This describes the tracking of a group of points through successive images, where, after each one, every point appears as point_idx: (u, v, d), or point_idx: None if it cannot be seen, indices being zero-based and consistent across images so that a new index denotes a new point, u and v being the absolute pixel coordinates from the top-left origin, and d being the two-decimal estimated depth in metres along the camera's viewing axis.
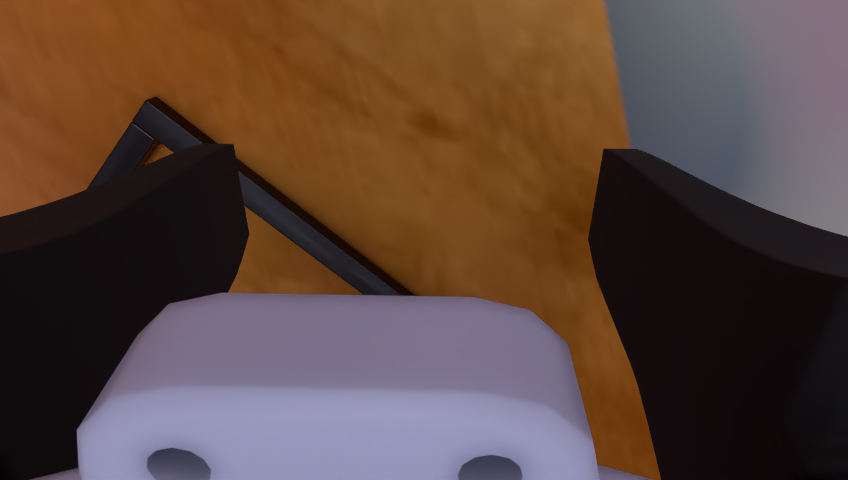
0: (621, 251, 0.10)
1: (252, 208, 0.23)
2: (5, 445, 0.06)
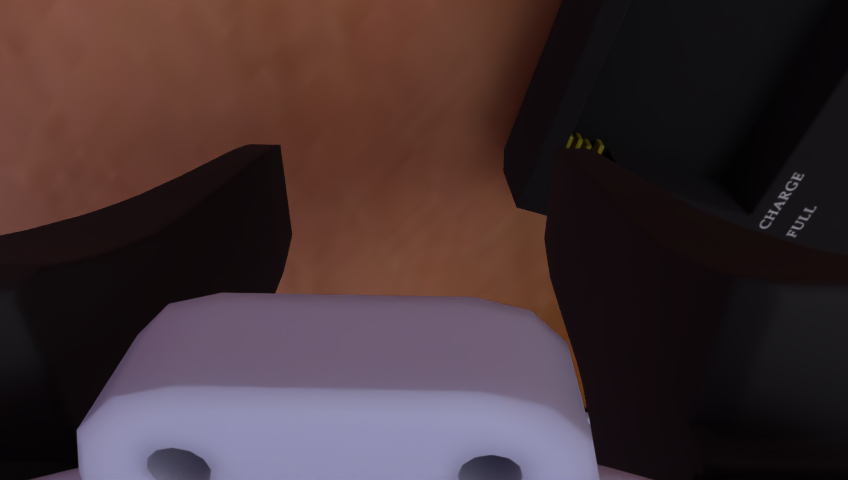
0: (569, 250, 0.10)
1: None
2: None
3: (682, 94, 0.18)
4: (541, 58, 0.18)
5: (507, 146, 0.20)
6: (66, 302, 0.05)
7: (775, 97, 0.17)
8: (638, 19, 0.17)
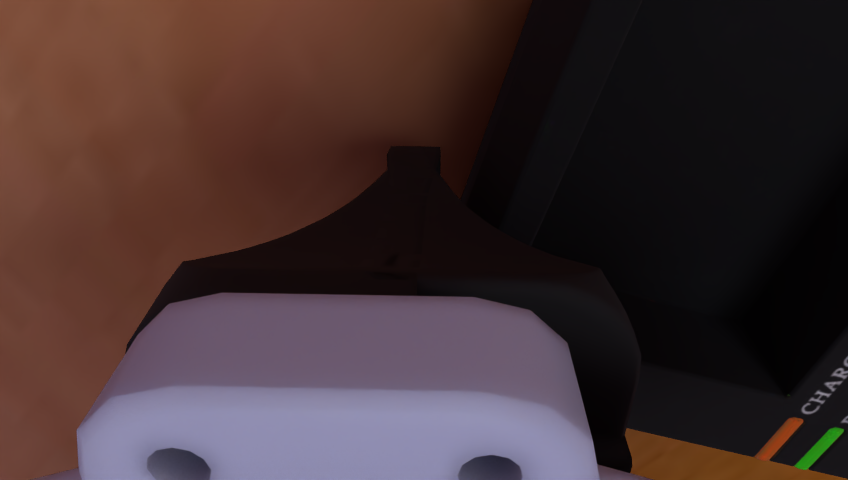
0: None
1: None
2: None
3: (684, 210, 0.12)
4: (479, 150, 0.13)
5: None
6: None
7: (823, 216, 0.12)
8: (617, 107, 0.11)
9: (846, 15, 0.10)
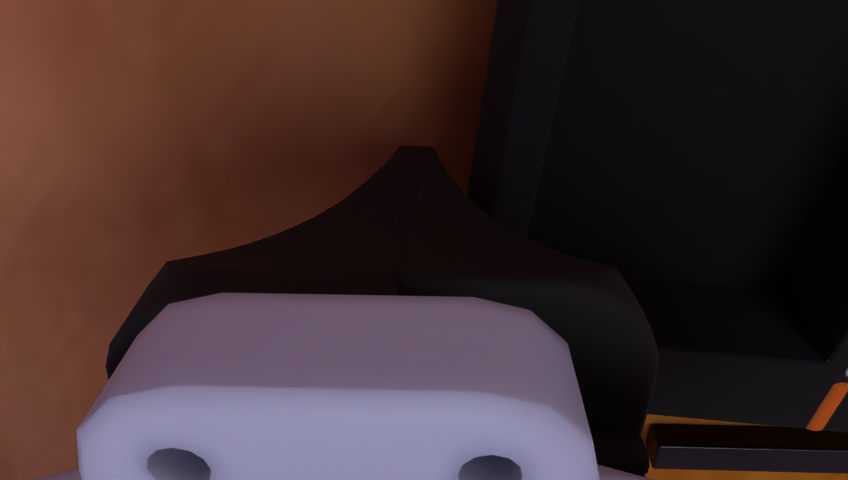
0: None
1: None
2: None
3: (688, 184, 0.11)
4: None
5: None
6: None
7: (838, 168, 0.11)
8: (596, 93, 0.11)
9: None
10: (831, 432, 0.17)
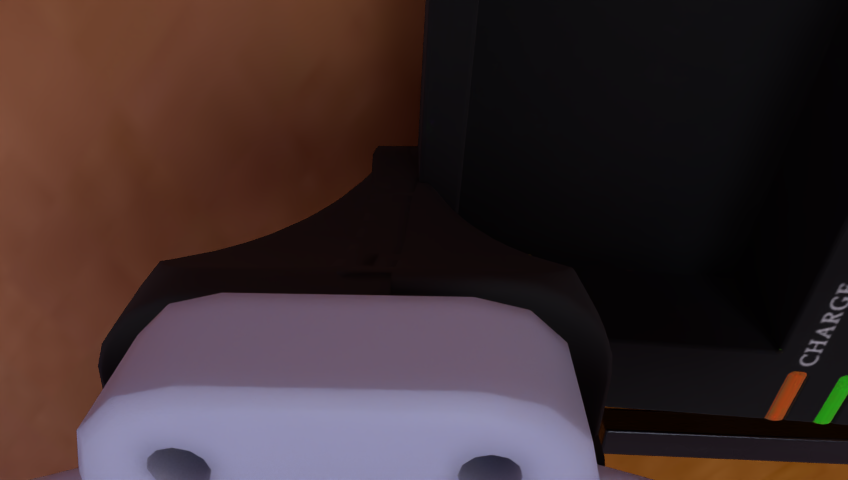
0: None
1: None
2: None
3: (636, 172, 0.11)
4: None
5: None
6: None
7: (789, 151, 0.11)
8: (531, 84, 0.10)
9: None
10: (784, 420, 0.17)
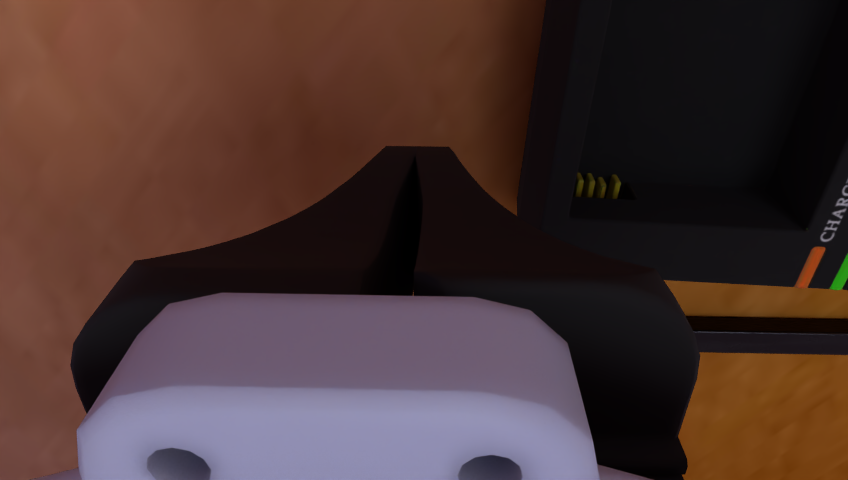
0: (418, 248, 0.11)
1: None
2: None
3: (697, 108, 0.15)
4: (532, 100, 0.17)
5: (518, 196, 0.18)
6: None
7: (808, 88, 0.15)
8: (626, 42, 0.15)
9: None
10: (801, 321, 0.21)
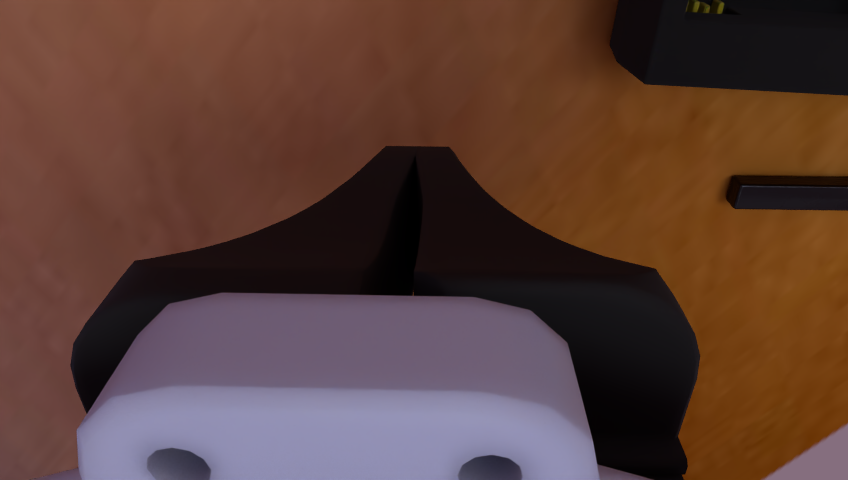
0: (418, 248, 0.11)
1: None
2: None
3: None
4: None
5: (613, 38, 0.19)
6: None
7: None
8: None
9: None
10: None
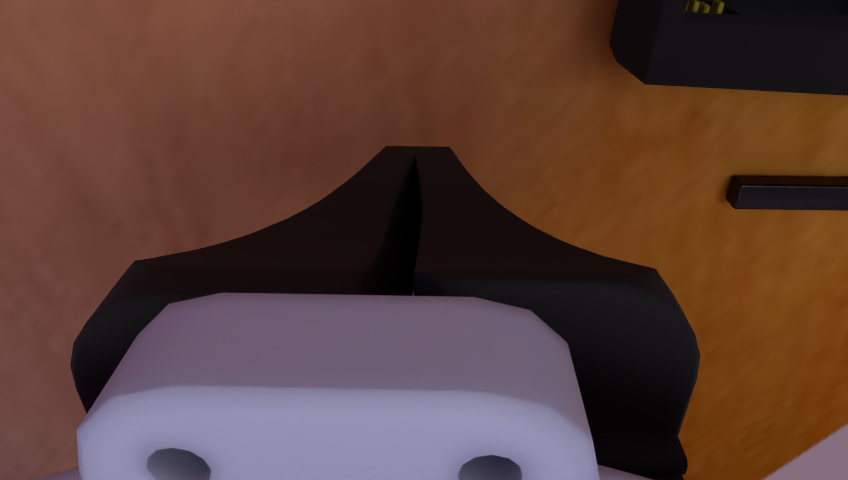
0: (418, 248, 0.11)
1: None
2: None
3: None
4: None
5: (613, 38, 0.19)
6: None
7: None
8: None
9: None
10: None
